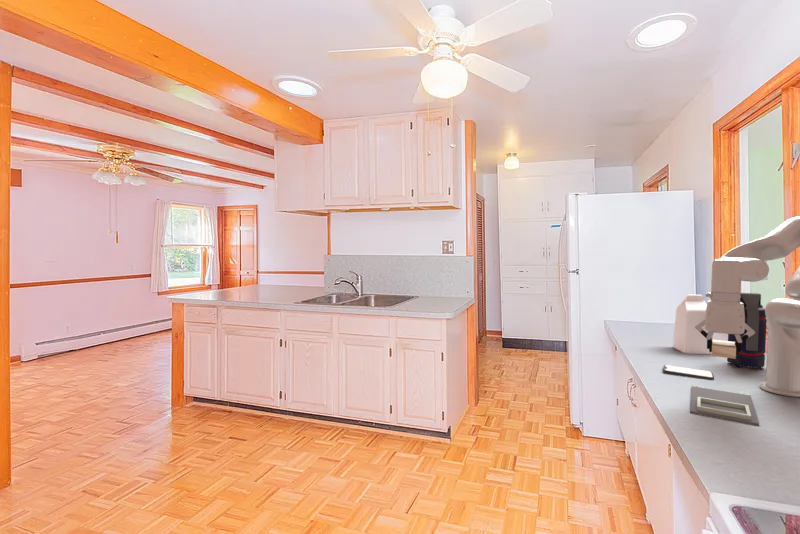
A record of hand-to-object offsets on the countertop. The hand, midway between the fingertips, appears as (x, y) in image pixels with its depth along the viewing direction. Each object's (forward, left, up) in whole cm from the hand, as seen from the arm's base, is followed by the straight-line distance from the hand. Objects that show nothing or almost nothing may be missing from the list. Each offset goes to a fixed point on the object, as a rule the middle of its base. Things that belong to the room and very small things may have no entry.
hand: (723, 352), depth 138 cm
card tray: (+11, +6, -15) cm, 20 cm away
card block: (0, 0, -1) cm, 1 cm away
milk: (-54, -41, -16) cm, 69 cm away
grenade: (-47, -16, -16) cm, 52 cm away
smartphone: (-17, -21, -16) cm, 31 cm away
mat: (+5, +3, -15) cm, 17 cm away
